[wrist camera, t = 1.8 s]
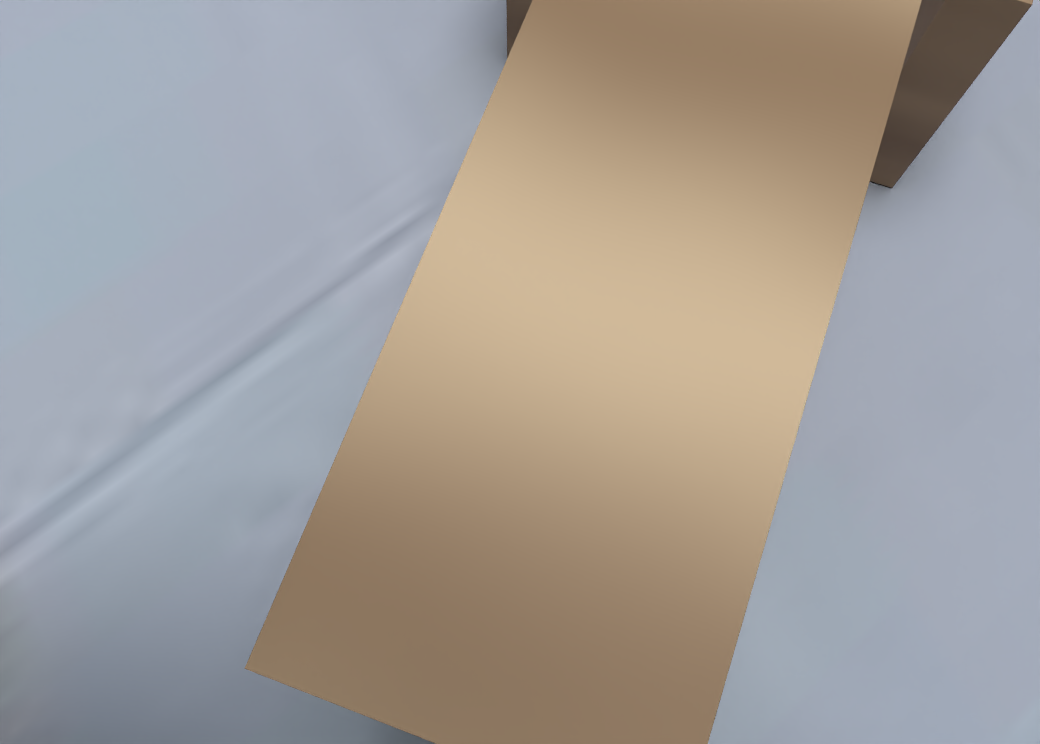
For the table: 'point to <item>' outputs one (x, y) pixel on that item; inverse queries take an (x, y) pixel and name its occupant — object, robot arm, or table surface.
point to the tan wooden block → (595, 378)
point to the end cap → (916, 70)
